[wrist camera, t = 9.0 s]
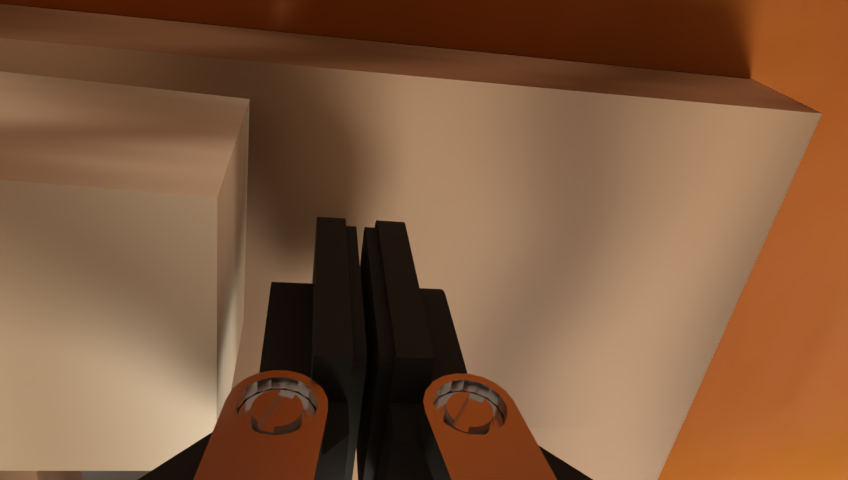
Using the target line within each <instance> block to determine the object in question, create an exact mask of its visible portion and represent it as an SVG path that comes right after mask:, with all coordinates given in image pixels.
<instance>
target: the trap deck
mask: <svg viewBox="0 0 848 480" xmlns="http://www.w3.org/2000/svg"><path fill="white" fill-rule="evenodd" d="M0 71H3V72H12V73H21V74H29V75H38V76H47V77H56V78H65V79H74V80H83V81H92V82H101V83H110V84H119V85H128V86H137V87H146V88H155V89H164V90H173V91H182V92H191V93H200V94H209V95H218V96H227V97H236V98H244V99H250V104H249V141H248V177H247V213H246V249H245V286H244V322H243V327H242V333H241V338H240V344H239V349H238V355H237V360H236V366H235V371H234V377H233V383H232V388H231V390H232V389H233V388H234V387H235V386H236V385H237V384H239V383H240V382H241V381H242V380H244V379H246V378H248V377H250V376H252V375H255V374H257V373H259V371H260V363H261V356H262V348H263V341H264V333H265V325H266V318H267V310H268V303H269V295H270V287H271V282H289V283H312V279H313V264H314V250H315V235H316V221H317V217H330V218H345V219H346V226H356V228H357V239H358V250H359V262H360V261H361V252H362V243H363V234H364V228H365V227H373V228H374V227H375V222H376V220H379V221H395V222H405V225H406V229H407V234H408V238H409V243H410V247H411V252H412V256H413V261H414V265H415V270H416V274H417V279H418V283H419V288H428V289H442V290H444V293H445V295H446V298H447V302H448V306H449V309H450V313H451V316H452V320H453V323H454V327H455V331H456V334H457V338H458V341H459V345H460V348H461V352H462V356H463V359H464V363H465V366H466V370H467V374H472V375H476V376H481V377H484V378H486V379H488V380H490V381H492V382H494V383H496V384H498V385H499V386H500V387H501V388H503V389H504V390H505V391H506V392H507V393H508V394H509V395H510V397H511V398H512V399H513V401H514V402H515V404H516V406H517V408H518V410H519V411H520V413H521V415H522V417H523V419H524V420H525V422H526V424H527V426H528V428H529V430H530V431H531V433H532V435H533V437H534V439H535V440H536V442H537V444H538V445H539V446H540V447H542V448H544V449H545V450H547V451H548V452H550V453H551V454H553V455H555V456H556V457H558V458H559V459H561V460H563V461H564V462H566V463H567V464H569V465H571V466H572V467H574V468H575V469H577V470H579V471H580V472H582V473H583V474H585V475H586V476H588V477H590V478H591V479H593V480H657V479H658V477H659V475H660V473H661V471H662V468H663V466H664V464H665V462H666V459H667V457H668V455H669V453H670V451H671V448H672V446H673V444H674V442H675V439H676V437H677V435H678V433H679V431H680V428H681V426H682V424H683V422H684V419H685V417H686V415H687V413H688V411H689V408H690V406H691V404H692V402H693V399H694V397H695V395H696V393H697V391H698V388H699V386H700V384H701V382H702V379H703V377H704V375H705V373H706V371H707V368H708V366H709V364H710V362H711V359H712V357H713V355H714V353H715V351H716V348H717V346H718V344H719V342H720V339H721V337H722V335H723V333H724V331H725V328H726V326H727V324H728V322H729V319H730V317H731V315H732V313H733V311H734V308H735V306H736V304H737V302H738V299H739V297H740V295H741V293H742V290H743V288H744V286H745V284H746V282H747V279H748V277H749V275H750V273H751V270H752V268H753V266H754V264H755V262H756V259H757V257H758V255H759V253H760V250H761V248H762V246H763V244H764V242H765V239H766V237H767V235H768V233H769V230H770V228H771V226H772V224H773V222H774V219H775V217H776V215H777V213H778V210H779V208H780V206H781V204H782V202H783V199H784V197H785V195H786V193H787V190H788V188H789V186H790V184H791V182H792V179H793V177H794V175H795V173H796V170H797V168H798V166H799V164H800V162H801V159H802V157H803V155H804V153H805V150H806V148H807V146H808V144H809V142H810V139H811V137H812V135H813V133H814V130H815V128H816V126H817V124H818V122H819V119H820V117H821V115H822V113H820V112H818V111H816V110H814V109H812V108H810V107H808V106H806V105H804V104H802V103H800V102H797V101H795V100H793V99H791V98H789V97H787V96H785V95H783V94H781V93H779V92H777V91H775V90H773V89H771V88H769V87H767V86H765V85H763V84H761V83H759V82H757V81H755V80H753V79H743V78H734V77H724V76H714V75H704V74H694V73H684V72H674V71H664V70H654V69H644V68H634V67H624V66H614V65H604V64H594V63H585V62H575V61H565V60H555V59H545V58H535V57H525V56H515V55H505V54H495V53H485V52H475V51H465V50H455V49H446V48H436V47H426V46H416V45H406V44H396V43H386V42H376V41H366V40H356V39H346V38H336V37H326V36H316V35H306V34H297V33H287V32H277V31H267V30H257V29H247V28H237V27H227V26H217V25H207V24H197V23H187V22H177V21H167V20H158V19H148V18H138V17H128V16H118V15H108V14H98V13H88V12H78V11H68V10H58V9H48V8H38V7H28V6H18V5H9V4H0ZM149 472H150V471H0V480H138V479H139V478H141V477H142V476H144V475H146V474H147V473H149ZM352 480H358V471H357V452H356V453H355V461H354V469H353V477H352Z"/></svg>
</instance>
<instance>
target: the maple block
mask: <svg viewBox="0 0 848 480" xmlns="http://www.w3.org/2000/svg"><path fill="white" fill-rule="evenodd" d="M249 104H250V99H244V98H236V97H227V96H218V95H209V94H200V93H191V92H182V91H173V90H164V89H155V88H146V87H137V86H128V85H119V84H110V83H101V82H92V81H83V80H74V79H65V78H56V77H47V76H38V75H29V74H21V73H12V72H3V71H0V471H152V470H153V469H155V468H157V467H158V466H160V465H161V464H163V463H164V462H166V461H168V460H169V459H171V458H172V457H174V456H175V455H177V454H179V453H180V452H182V451H183V450H185V449H186V448H188V447H190V446H191V445H193V444H194V443H196V442H197V441H199V440H201V439H202V438H204V437H205V436H207V435H208V434H210V433H212V432H213V430H214V427H215V425H216V422H217V420H218V418H219V415H220V413H221V410H222V408H223V405H224V403H225V400H226V398H227V397H228V395H229V393H230V392H231V388H232V383H233V377H234V371H235V366H236V360H237V355H238V349H239V344H240V338H241V333H242V327H243V322H244V286H245V249H246V213H247V177H248V141H249Z"/></svg>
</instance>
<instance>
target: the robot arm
mask: <svg viewBox="0 0 848 480" xmlns="http://www.w3.org/2000/svg"><path fill="white" fill-rule="evenodd" d="M356 452H357V471H358V480H593V479H591V478H590V477H588V476H586V475H585V474H583V473H582V472H580V471H579V470H577V469H575V468H574V467H572V466H571V465H569V464H567V463H566V462H564V461H563V460H561V459H559V458H558V457H556V456H555V455H553V454H551V453H550V452H548V451H547V450H545V449H544V448H542V447H540V446H539V445H538V444H537V442H536V440H535V439H534V437H533V435H532V433H531V431H530V430H529V428H528V426H527V424H526V422H525V420H524V419H523V417H522V415H521V413H520V411H519V410H518V408H517V406H516V404H515V402H514V401H513V399H512V398H511V397H510V395H509V394H508V393H507V392H506V391H505V390H504V389H503V388H501V387H500V386H499V385H498V384H496V383H494V382H492V381H490V380H488V379H486V378H484V377H481V376H476V375H472V374H467V370H466V366H465V363H464V359H463V356H462V352H461V348H460V345H459V341H458V338H457V334H456V331H455V327H454V323H453V320H452V316H451V313H450V309H449V306H448V302H447V298H446V295H445V293H444V290H442V289H428V288H419V283H418V279H417V274H416V270H415V265H414V261H413V256H412V252H411V247H410V243H409V238H408V234H407V229H406V225H405V222H395V221H379V220H376V222H375V227H374V228H373V227H365V228H364V234H363V243H362V252H361V261H360V262H359V250H358V239H357V228H356V226H346V219H345V218H330V217H317V221H316V235H315V250H314V264H313V279H312V283H289V282H271V287H270V295H269V303H268V310H267V318H266V325H265V333H264V341H263V348H262V356H261V363H260V371H259V373H257V374H255V375H252V376H250V377H248V378H246V379H244V380H242V381H241V382H240V383H239V384H237V385H236V386H235V387H234V388H233V389H232V390H231V392H230V393H229V395H228V397H227V398H226V400H225V403H224V405H223V408H222V410H221V413H220V415H219V418H218V420H217V422H216V425H215V427H214V430H213V432H212V433H210V434H208V435H207V436H205V437H204V438H202V439H201V440H199V441H197V442H196V443H194V444H193V445H191V446H190V447H188V448H186V449H185V450H183V451H182V452H180V453H179V454H177V455H175V456H174V457H172V458H171V459H169V460H168V461H166V462H164V463H163V464H161V465H160V466H158V467H157V468H155V469H153V470H152V471H150V472H149V473H147V474H146V475H144V476H142V477H141V478H139V479H138V480H352V477H353V469H354V461H355V453H356Z"/></svg>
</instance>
